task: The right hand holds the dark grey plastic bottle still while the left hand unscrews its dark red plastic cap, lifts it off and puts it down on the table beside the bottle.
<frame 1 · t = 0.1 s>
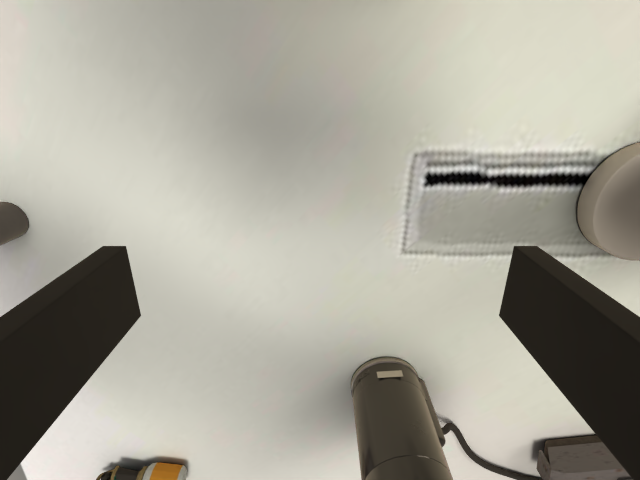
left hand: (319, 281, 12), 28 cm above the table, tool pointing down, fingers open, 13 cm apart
bottle: (10, 219, 41), on the table
toy: (608, 475, 57), on the table
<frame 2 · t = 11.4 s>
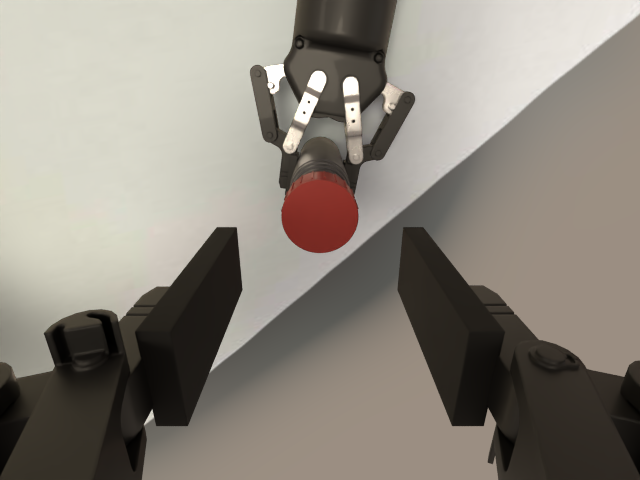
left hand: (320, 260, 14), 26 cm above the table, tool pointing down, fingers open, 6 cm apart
right hand: (315, 196, 33), fingers closed on bottle, 4 cm apart
cap: (319, 216, 19), point 20 cm above the table, screwed on, not yet turned
bottle: (320, 157, 38), on the table, touching right hand
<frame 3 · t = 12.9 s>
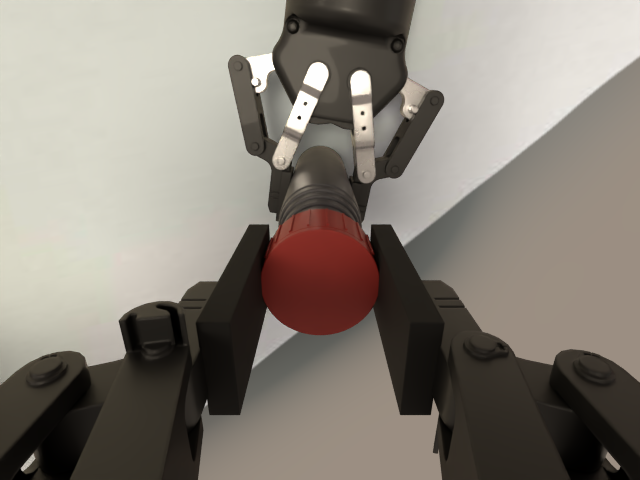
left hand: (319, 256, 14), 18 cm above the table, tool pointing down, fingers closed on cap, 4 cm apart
right hand: (314, 222, 27), fingers closed on bottle, 4 cm apart
cap: (320, 281, 12), point 20 cm above the table, screwed on, not yet turned, touching left hand
bottle: (320, 170, 31), on the table, touching right hand
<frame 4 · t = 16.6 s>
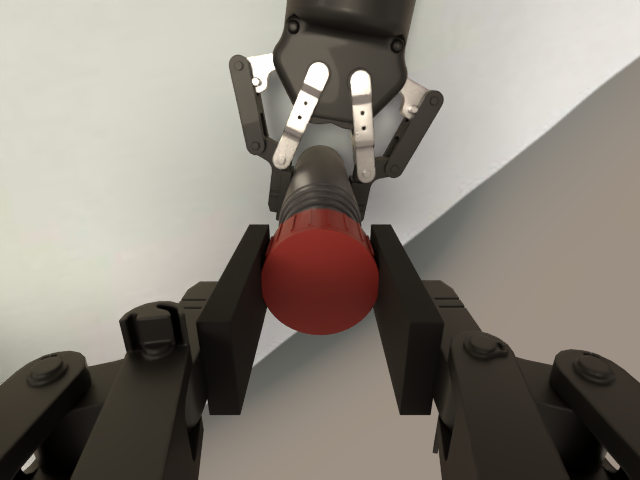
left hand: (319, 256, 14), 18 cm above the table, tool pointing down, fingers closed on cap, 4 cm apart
right hand: (314, 221, 27), fingers closed on bottle, 4 cm apart
cap: (320, 281, 12), point 20 cm above the table, turned 125° so far, risen 0.1 cm, still on its thread, touching left hand
bottle: (320, 169, 31), on the table, touching right hand
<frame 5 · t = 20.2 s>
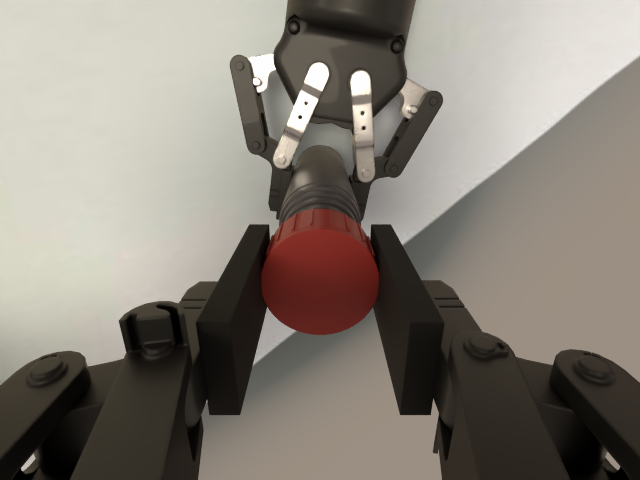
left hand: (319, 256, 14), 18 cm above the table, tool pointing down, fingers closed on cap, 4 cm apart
right hand: (314, 221, 27), fingers closed on bottle, 4 cm apart
cap: (320, 281, 12), point 20 cm above the table, turned 250° so far, risen 0.3 cm, still on its thread, touching left hand
bottle: (320, 169, 31), on the table, touching right hand
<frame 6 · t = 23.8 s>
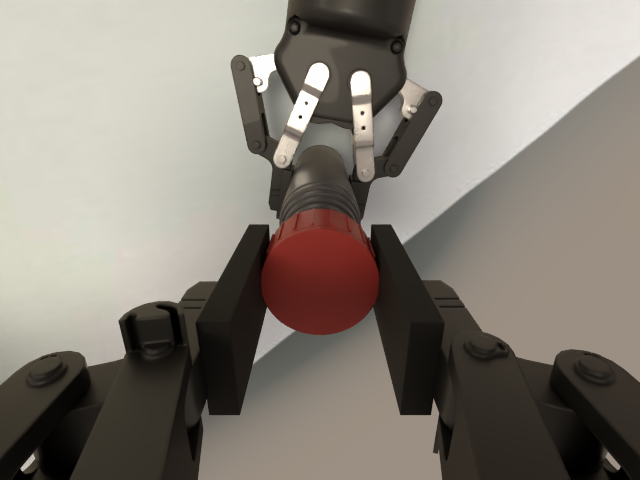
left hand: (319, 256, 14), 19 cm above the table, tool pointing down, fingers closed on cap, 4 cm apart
right hand: (314, 220, 27), fingers closed on bottle, 4 cm apart
cap: (320, 281, 12), point 21 cm above the table, turned 374° so far, risen 0.5 cm, still on its thread, touching left hand
bottle: (320, 169, 32), on the table, touching right hand
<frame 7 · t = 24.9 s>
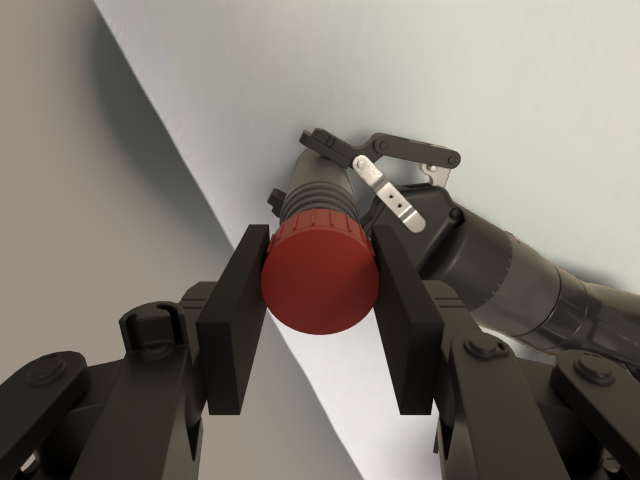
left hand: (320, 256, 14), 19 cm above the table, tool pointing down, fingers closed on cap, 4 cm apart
right hand: (286, 167, 26), fingers closed on bottle, 4 cm apart
cap: (320, 281, 12), point 21 cm above the table, off its thread, touching left hand
bottle: (320, 169, 32), on the table, touching right hand
when the left hand's fingers open (2 cm above the table, at t = 30.7 s): cap drops 2 cm, point 2 cm above the table.
when the right hand's fingers open (6 cm above the table, at t = 32.0 s): bottle stays where it is, on the table.
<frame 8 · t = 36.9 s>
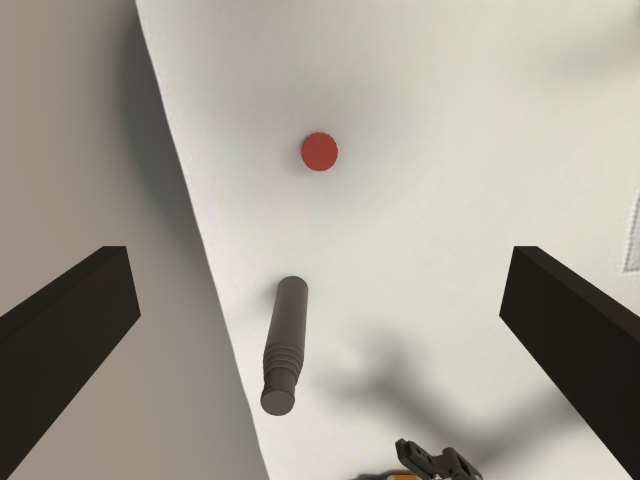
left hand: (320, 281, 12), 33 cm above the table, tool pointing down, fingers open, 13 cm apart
cap: (319, 152, 41), point 2 cm above the table, off its thread
bottle: (293, 289, 50), on the table
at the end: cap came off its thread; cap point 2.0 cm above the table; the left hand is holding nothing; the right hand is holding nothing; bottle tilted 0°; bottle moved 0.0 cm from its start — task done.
